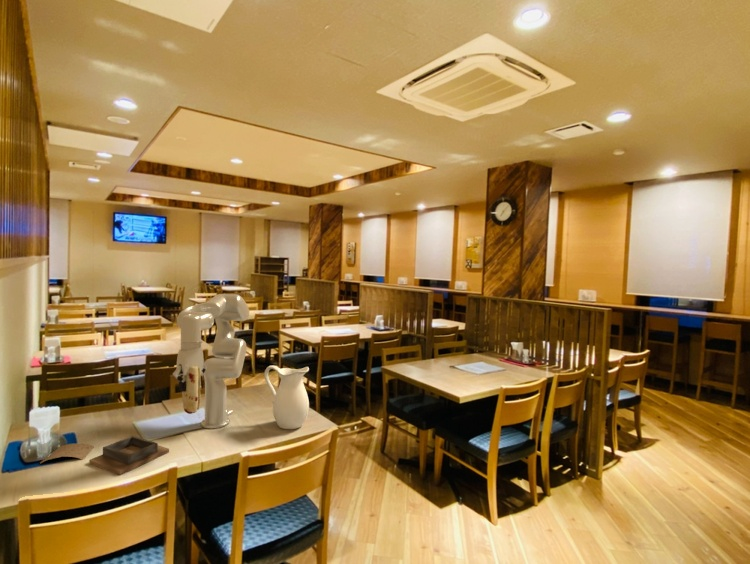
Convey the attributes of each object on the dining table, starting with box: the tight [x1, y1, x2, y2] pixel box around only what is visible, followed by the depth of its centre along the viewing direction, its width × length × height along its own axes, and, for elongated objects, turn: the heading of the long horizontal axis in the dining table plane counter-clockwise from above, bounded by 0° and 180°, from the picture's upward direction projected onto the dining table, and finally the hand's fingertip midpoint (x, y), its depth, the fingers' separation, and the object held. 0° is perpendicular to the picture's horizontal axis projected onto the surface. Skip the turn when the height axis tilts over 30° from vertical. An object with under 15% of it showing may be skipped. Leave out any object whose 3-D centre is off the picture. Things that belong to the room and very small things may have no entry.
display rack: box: [88, 435, 170, 476], centre depth 158 cm, size 20×18×5 cm
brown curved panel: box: [40, 442, 95, 464], centre depth 158 cm, size 16×11×3 cm
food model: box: [181, 366, 202, 415], centre depth 165 cm, size 10×7×20 cm
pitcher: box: [263, 365, 310, 430], centre depth 195 cm, size 24×17×28 cm
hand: (190, 387), depth 165 cm, fingers closed on food model, 7 cm apart
